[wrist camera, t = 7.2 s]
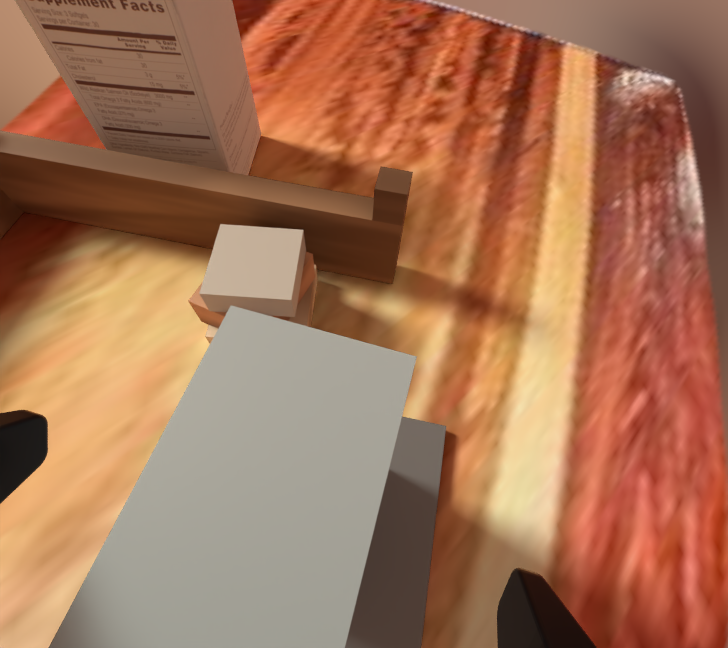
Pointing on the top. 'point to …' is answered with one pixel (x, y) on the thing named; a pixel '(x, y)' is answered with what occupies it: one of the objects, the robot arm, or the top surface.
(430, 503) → the mat
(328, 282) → the top surface
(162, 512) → the block
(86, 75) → the supplement box
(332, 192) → the frame
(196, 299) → the offcut cherry
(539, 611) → the robot arm
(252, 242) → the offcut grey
